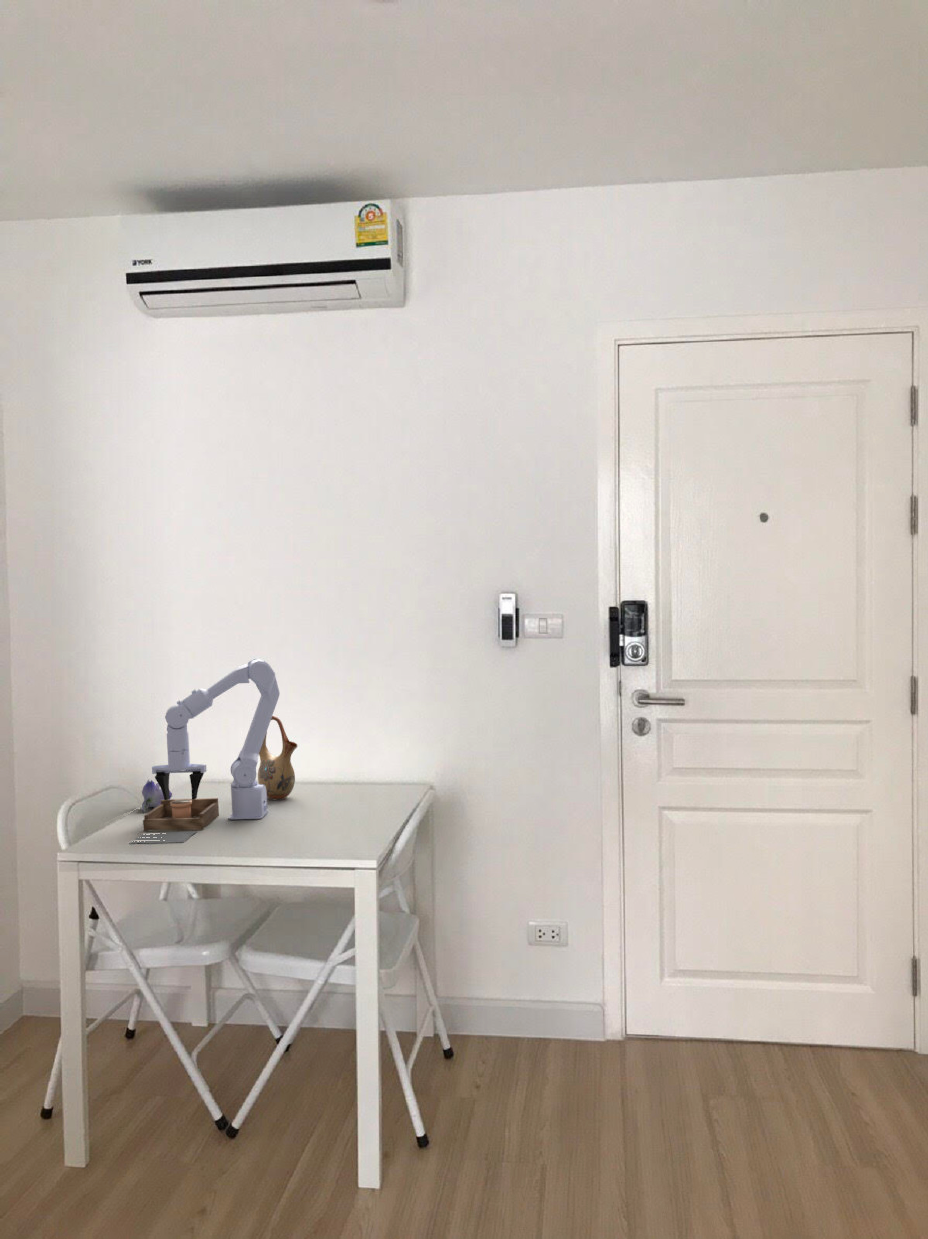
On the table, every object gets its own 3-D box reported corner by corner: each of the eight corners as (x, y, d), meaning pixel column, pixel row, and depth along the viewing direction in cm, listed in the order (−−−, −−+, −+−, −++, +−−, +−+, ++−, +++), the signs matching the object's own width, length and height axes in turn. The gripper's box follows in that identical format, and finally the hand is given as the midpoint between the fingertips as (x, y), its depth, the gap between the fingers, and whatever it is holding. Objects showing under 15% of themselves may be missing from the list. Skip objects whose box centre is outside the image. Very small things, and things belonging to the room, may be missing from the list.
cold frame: (218, 815, 284) (218, 798, 283) (202, 829, 269) (201, 811, 269) (163, 817, 285) (162, 799, 284) (143, 831, 270) (142, 812, 269)
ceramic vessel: (308, 797, 303) (304, 714, 301) (289, 804, 295) (285, 719, 293) (265, 793, 310) (261, 712, 309) (246, 799, 303) (242, 717, 301)
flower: (152, 792, 287) (160, 770, 296) (127, 804, 289) (136, 782, 298) (172, 814, 291) (179, 792, 300) (147, 826, 293) (155, 804, 302)
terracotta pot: (195, 820, 279) (194, 798, 279) (189, 825, 274) (188, 803, 273) (175, 821, 280) (174, 799, 279) (168, 826, 274) (167, 804, 274)
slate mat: (195, 832, 266) (195, 831, 266) (183, 842, 256) (183, 842, 256) (143, 833, 267) (143, 832, 267) (129, 844, 257) (129, 843, 257)
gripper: (208, 746, 279) (211, 795, 280) (157, 747, 280) (159, 796, 281) (201, 751, 272) (203, 800, 273) (148, 752, 273) (150, 802, 274)
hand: (180, 799), depth 276 cm, fingers open, 7 cm apart
